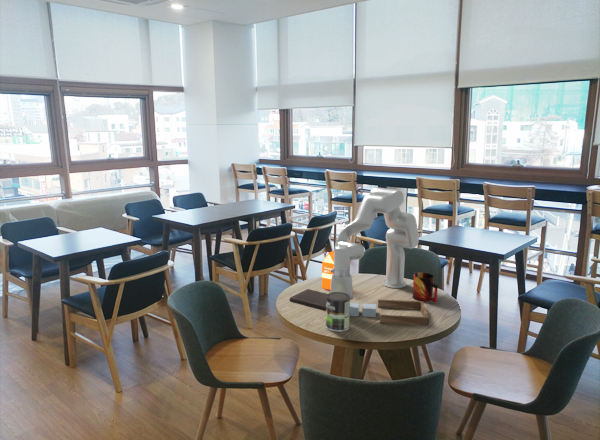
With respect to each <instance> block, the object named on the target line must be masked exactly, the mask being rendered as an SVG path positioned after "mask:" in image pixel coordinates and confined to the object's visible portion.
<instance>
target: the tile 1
mask: <svg viewBox="0 0 600 440" xmlns="http://www.w3.org/2000/svg"><path fill="white" fill-rule="evenodd" d="M359 315H360V303H355V302H350V312H349V317H350V316H351V317H358V316H359Z"/></svg>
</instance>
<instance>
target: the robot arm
mask: <svg viewBox="0 0 600 440" xmlns="http://www.w3.org/2000/svg"><path fill="white" fill-rule="evenodd" d="M404 200H405V194H404V192H403V191H402V190H400V189H395V188H387V187H378V186H377V187H376V186H375V187H373V188H372V189H371V190H370V191H369V194H366V195H365V196H364V197H363V198H362V200H361V203H360V205H359V208H358V211H357V212H356V216H355V218H354V220H353V221H352V222H349V224H347V225H346V226H345V227H344V228H343V229H342V230H341V231H340V232H339V234H338V236H337V239H336V241H335V244H334V248H333V251H334V269H332V270H331V272H332V273H334V274H333V275H332V278H331V287H330V292H329V293H332V292H342V293H346V294H348V295H350V300H353V299H354V296H353V293H354V292H353V291H354V290H353V289H354V288H353V286H354V285H353V277H352V276H353V275H352V274H351V261H356V260H357V261H358V260H360V259H361V258H363V256H364V255H365V248H364V246H363V245H362V244H361V243H356V242H352V241H348V240H349V239H350V238H351V237H352V236H353V235H355V234H357V233H361V232H364V231H367V230H370V228H372V225H373V223H374V220H375V218H376V215H377V214H378V213H379V214H383V217H384V221H385V226H387V228H388V229H387V231H386V233H385V243H386V269H385V270H386V273H385V279H384V280H383V281H382V284H383V286H385V287H387V288H390V289H391V288H392V289H401V288H402V289H403V288H405V287H406V286H407V282H406V281H404V280H405V279H404V277H405V259H406V254H405V253H406V252H405V250H404V248H405V249H414V248H417V246H418V244H419V242H420V241H419V240H420V237H419V231H418V226H417V225H418V224H417V219H416V217H415V215H414V214H412V213H410V212H404V211H401V209H400V207H401V206H402V205H403V203H404Z"/></svg>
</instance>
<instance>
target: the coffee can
mask: <svg viewBox="0 0 600 440" xmlns="http://www.w3.org/2000/svg"><path fill="white" fill-rule="evenodd" d="M326 294H327V295H326V311H325V312H326V313H325V328H326V329H327V330H328V331H332V332H335V333H336V332H337V333H340V332H345V331H348V330H349V328H350V316H349V312H350V303H351V299H350V295H348V294H346V293H342V292H332V293H330V292H329V293H326Z"/></svg>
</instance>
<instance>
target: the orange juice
mask: <svg viewBox="0 0 600 440" xmlns="http://www.w3.org/2000/svg"><path fill="white" fill-rule="evenodd" d="M321 263H322V264H321V265H322V268H321V289H325V290H330V287H331V278H332V275H333V274H334V273H332V272H331V270H332V269H334V250H332V251H329V252H328V253H327V255H326V256H325V257H324V259H323V260H322V262H321Z"/></svg>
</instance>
